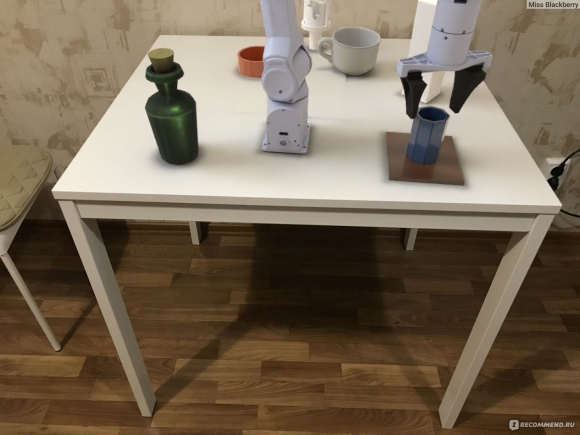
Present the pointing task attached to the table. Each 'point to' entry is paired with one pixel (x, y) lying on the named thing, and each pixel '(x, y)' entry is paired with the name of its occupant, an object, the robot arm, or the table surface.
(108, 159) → the table surface
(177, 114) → the potion bottle
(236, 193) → the table surface
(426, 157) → the blue cup
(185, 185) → the table surface
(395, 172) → the walnut board
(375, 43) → the teacup
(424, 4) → the milk
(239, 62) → the orange ramekin
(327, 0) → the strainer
